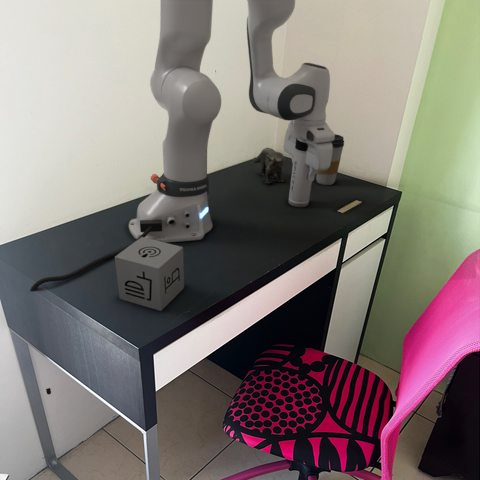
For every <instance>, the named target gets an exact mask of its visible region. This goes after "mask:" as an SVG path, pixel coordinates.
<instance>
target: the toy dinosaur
mask: <svg viewBox="0 0 480 480" xmlns="http://www.w3.org/2000/svg"><path fill="white" fill-rule="evenodd" d="M285 159H286V158H285V156H284V155H283V153H281V152H280V151H276V150H274V149H273V148H271V147H265V148H263V149H262V150H261V152H260V153H259V154H258V155H257V157H253V159H252V161H253V164H258V163H260V167H261V168H260V172H259V176H265V181H264V184H272V181H271V178H272V179H277V182H278V183H284V181H285V180H284V179H283V178H282V173H283V172H282V171H283V167H284V165H285V163H286V160H285ZM276 175H277V176H276Z"/></svg>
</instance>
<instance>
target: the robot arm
mask: <svg viewBox="0 0 480 480" xmlns="http://www.w3.org/2000/svg"><path fill="white" fill-rule="evenodd" d="M213 6H214V0H160V11H159V12H160V14H159V15H160V16H159V18H160V19H159V20H160V21H159V39H158V44H157V50H156V56H155V61H154V69H153V71H152V73H151V75H150V79H149V87H150V91H151V93H152V96H153V99H155V102H156V103H157V104H158V105H159V106H160V107H161V108H162V109H164V110H165V111H166V112H167V117H168V119H167V120H168V122H167V128H166V134H165V138H164V139H163V141H162V145H161V146H162V165H163V167H162V168H163V172H162V175H160V176H159V175H158V174H156V173H153V174H151V176H150V180H151V182H152V183H153V184H156V189H155V190H154V191H153V192H152V193H151V194H149V195H148V196H147V197H146V198H145V199H143V200H142V201H140V203H139V204H138V207H137V210H136V218H132V219H130V221H129V222H128V230H129V233H130V234H131V236H132V237H133V238H134V239H135V240H134V241H133V242H131V243H130V244H128V245H127V246H124V247H123V248H121V249H119V250H117V251H114V252H111V253H108V254H105V255H103V256H101V257H99V258H96V259H94V260H92V261H90V262H89V263H87V264H85V265H83V266H81V267H79V268H78V269H75V270H74V271H72V272H69V273H67V274H63V275H56V276H48V277H43V278H41V279H39V280H37V281H36V282H35V283H34V284H33V285H32V286H31V288H30V289H29V292H35V291H36V290H37V289H38V288H39V287H40V286H41V285H43V284H45V283H51V282H60V281H65V280H69V279H71V278H74V277H75V276H77V275H80V274H81V273H84V272H85V271H88V270H89V269H90V268H92V267H94V266H96V265H98V264H100V263H102V262H104V261H106V260H109V259H111V258H115V256H117V255H118V254H119V253H121V252H122V251H123V250H125V249H126V248H127V247H129V246H130V245H132V244H133V243H134V242H136V241H137V240H138V239H140V238H141V237H144V238H148V239H152V240H156V241H160V242H164V243H176V242H177V243H178V242H190V241H201V240H203V239H204V237H205V235H206V234H207V233H209V232H210V231H211V230H212V228H213V225H214V223H213V222H212V218H211V214H210V208H209V197H208V195H209V191H210V181H209V180H210V179H209V177H210V175H209V173H208V147H209V146H208V145H209V138H210V135H211V130H212V125H213V122H214V121H215V119H217V117H218V115H219V113H220V111H221V109H222V95H221V92H220V89H219V88H218V87H217V85H216V84H215V82H214V81H213V80H212V79H211V77H209V76H208V75H207V74H204V73H203V72H201V66H202V61H203V57H204V53H205V51H206V47H207V46H208V45H209V42H210V40H211V37H212V26H213V25H212V24H213V9H214V7H213ZM295 8H296V0H247V19H246V40H247V50H248V51H247V52H248V61H249V71H250V73H249V74H250V75H249V76H250V77H249V86H248V99H249V103H250V105H251V106H252V108H253V109H254V110H255V111H256V112H259V113H262V114H266V115H270V116H272V117H275V118H278V119H280V120H282V121H290V122H289V123H288V125H287V128H286V130H285V134H284V139H283V151H284V152H285V153H286V154H288V155H289V156H291V162H292V164H293V159H294V151H295V145H296V138H297V140H299V141H301V142H304V143H306V144H307V145H308V150H307V151H306V160H305V163H306V164H307V165H309V166H310V168H309V169H310V172H309V174H307V180H309V181H312V182H314V181H315V177H316V175H317V171H324V170H327V169H328V168H329V167H330V164H331V158H332V150H333V146H332V143H331V142H330V141H334V138H335V134H336V133H335V132H334V131H333V130H332V129H331V127H330V126H329V125H328V123H327V122H326V120H327V112H326V110H327V109H326V108H327V105H328V104H329V98H330V89H331V74H330V69H328V68H327V67H326V66H325V65H320V64H316V63H312V62H304V63H302V64H301V65H300V67H299V68H298V69H297V70H296V72H294V73H293V74H291V75H290V76H288V77H286V78H285V77H282V76H279V74H278V73H277V72H276V70H275V69H274V56H273V35H274V32H275V31H276V30H277V29H279V28H280V27H282V26H283V25H284V24H286V23H287V22H288V20H289V19H290V18H291V16H292V14H293V12H294V11H295ZM45 392H46V394H47V395H51V394H52V389H51V387H47V388H45Z"/></svg>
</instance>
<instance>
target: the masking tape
mask: <svg viewBox="0 0 480 480" xmlns="http://www.w3.org/2000/svg"><path fill="white" fill-rule="evenodd" d="M360 204H362V201H360V200H357V199H356V200H354V201H352V202H350V203H348V204H346V205H345V206H343V207H342V208H340V209H338V210H337V212H338V213H342V214H344V213H346V212H347V211H350V210H351V209H352V208H355V207H356V206H358V205H360Z"/></svg>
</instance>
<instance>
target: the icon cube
mask: <svg viewBox="0 0 480 480" xmlns="http://www.w3.org/2000/svg"><path fill="white" fill-rule="evenodd" d="M133 242H134V241H133ZM133 242H132V243H133ZM129 245H130V244H129ZM126 247H127V246H126ZM184 263H185V262H184V247H183V246H180V245H177V244H173V243H169V242H165V243H164V242H160V241H156V240H152V239H148V238H144V237H141V238H140V239H138V240H137V241H136V242H134V243H133V244H132V245H130V246H129V247H127V248H126V249H125V250H123V251H122V252H121V253H119V254H118V255H117V256H114V264H115V272H116V273H115V274H116V280H117V289H118V297H119V300H121V301H126V302H128V303H132V304H136V305H140V306H142V307H146V308H149V309H153V310H156V311H160V312H162V311H163V310H164V309H165V308H166V307H167V306H168V305H169V304H170V303H171V302H172V301H173V300H174V299H175V298H176V297H177V296H178V295H179V294H180V293H181V292H182V291H183V290H184V289H185V267H184V266H185V265H184Z"/></svg>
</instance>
